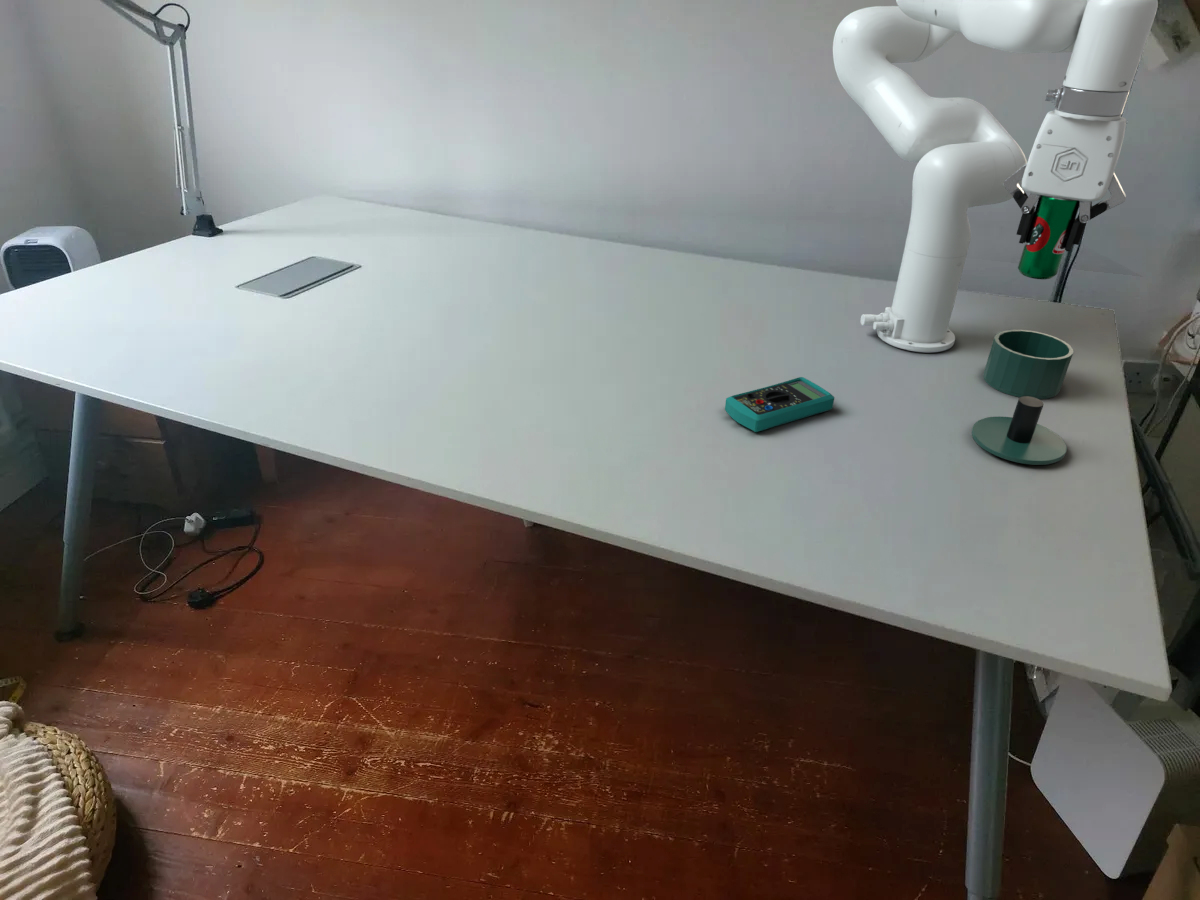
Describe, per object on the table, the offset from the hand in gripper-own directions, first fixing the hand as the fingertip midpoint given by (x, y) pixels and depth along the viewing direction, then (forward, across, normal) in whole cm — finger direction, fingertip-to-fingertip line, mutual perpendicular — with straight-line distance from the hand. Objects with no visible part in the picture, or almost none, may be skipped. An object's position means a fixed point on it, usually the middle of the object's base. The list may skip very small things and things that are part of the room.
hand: (1046, 243), depth 111 cm
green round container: (+22, +2, +3) cm, 23 cm away
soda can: (+5, 0, 0) cm, 5 cm away
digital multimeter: (+22, -25, -27) cm, 43 cm away
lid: (+22, +5, -17) cm, 28 cm away
